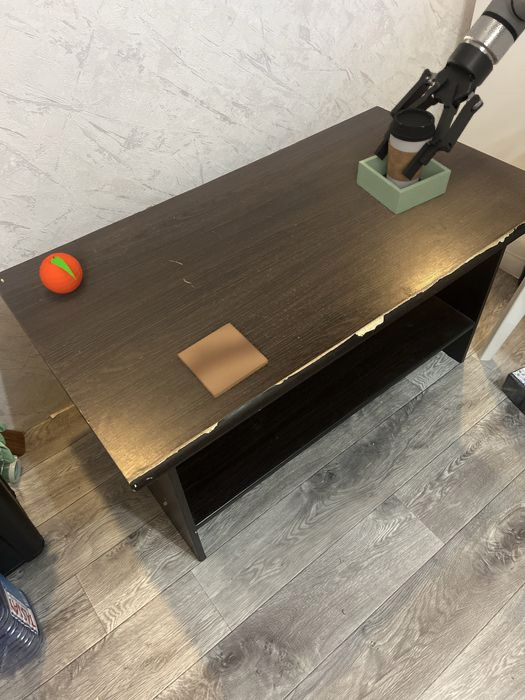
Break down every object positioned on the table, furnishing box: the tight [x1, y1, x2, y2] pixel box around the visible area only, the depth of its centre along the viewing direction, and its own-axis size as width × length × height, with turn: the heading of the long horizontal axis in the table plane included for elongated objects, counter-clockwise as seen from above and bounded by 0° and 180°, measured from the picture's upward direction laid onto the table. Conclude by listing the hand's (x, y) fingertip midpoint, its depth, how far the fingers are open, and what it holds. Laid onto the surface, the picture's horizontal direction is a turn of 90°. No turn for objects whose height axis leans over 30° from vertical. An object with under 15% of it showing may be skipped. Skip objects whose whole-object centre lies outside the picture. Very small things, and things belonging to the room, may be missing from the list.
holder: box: [356, 154, 452, 216], centre depth 100 cm, size 13×13×5 cm
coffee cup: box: [385, 108, 437, 189], centre depth 96 cm, size 8×8×15 cm
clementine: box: [39, 252, 84, 294], centre depth 86 cm, size 8×7×7 cm
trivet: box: [177, 322, 269, 399], centre depth 77 cm, size 10×10×1 cm
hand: (391, 166), depth 96 cm, fingers closed on coffee cup, 8 cm apart
